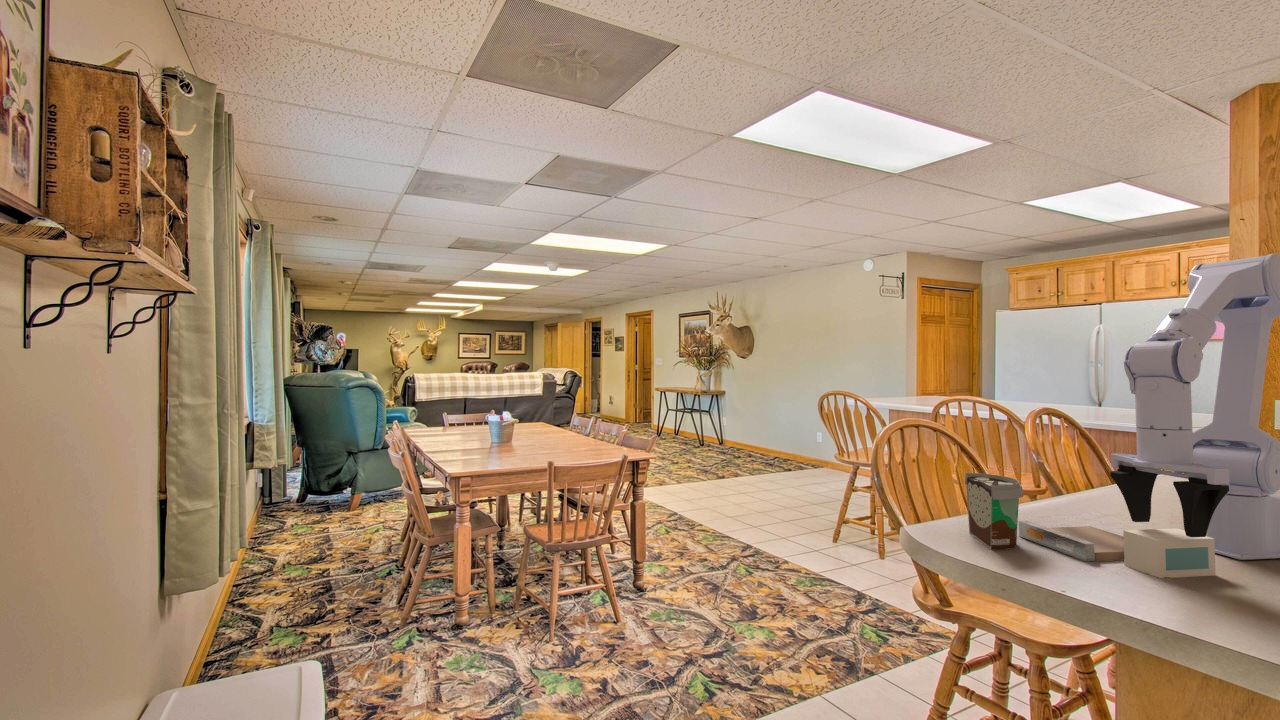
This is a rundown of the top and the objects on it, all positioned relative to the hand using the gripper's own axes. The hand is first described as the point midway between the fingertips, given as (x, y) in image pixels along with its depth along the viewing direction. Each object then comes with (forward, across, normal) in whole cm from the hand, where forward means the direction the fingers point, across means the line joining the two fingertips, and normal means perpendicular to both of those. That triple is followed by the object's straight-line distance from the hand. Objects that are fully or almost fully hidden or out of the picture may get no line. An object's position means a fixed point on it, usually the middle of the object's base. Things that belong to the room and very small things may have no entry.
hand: (1166, 528), depth 79 cm
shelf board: (+6, -11, -1) cm, 12 cm away
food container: (+6, -15, -13) cm, 21 cm away
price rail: (+6, -11, -7) cm, 14 cm away
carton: (+6, 0, 0) cm, 6 cm away
